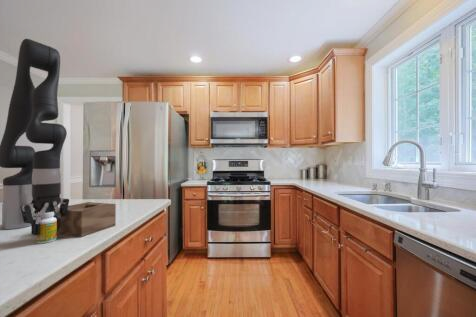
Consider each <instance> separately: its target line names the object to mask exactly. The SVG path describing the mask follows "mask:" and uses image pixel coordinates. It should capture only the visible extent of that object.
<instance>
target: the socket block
mask: <svg viewBox="0 0 476 317" xmlns="http://www.w3.org/2000/svg"><path fill="white" fill-rule="evenodd" d="M58 207H59V208H60V206H58ZM116 207H117V206H116V203H105V202H93V201H91V202H90V201H87V202H81V203H77V204H69V205H68V210H67V215H66V216H63V217H61V226H60V228H59V230H57V235H63V236H70V237H79V238H84V237H86V236H89V235H92V234H95V233H98V232H101V231H104V230H106V229H110V228H112V227H115V226H116V219H117V218H116V212H117V211H116V210H117V209H116Z"/></svg>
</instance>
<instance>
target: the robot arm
mask: <svg viewBox="0 0 476 317" xmlns="http://www.w3.org/2000/svg"><path fill="white" fill-rule="evenodd" d="M16 67H17V68H16V75H15V80H14V86H13V89H12V94H11V97H10V101H9V104H8V105H9V106H8V111H7V118H6V123H5V129H4V132H3V135H2V138H1V141H0V168H3V169H19V168H20V169H21V170H20V171H19V172H17V173H16V174H12V175H10V176H6V177H4V178H3V179H2V204H1V228H2V229H3V230H15V229H23V228H27V227H30V226H31V234H32V235H33V236H35V237H36V236H37V235H40V224H39V222H40V220H41V218H42V217H43V216H44V213H47V212H52V211H54V216H53V217H55V218H56V219H57V230H59V228H60V226H61V217H63V216H66V215H67V210H68V206H70V204H69V203H70V199H69V198H61V194H62V174H61V154H62V150H63V145H64V144H65V141H66V138H67V136H68V135H67V134H68V133H67V132H68V131H67V128H66V127H65V126H64V125H63V124H60V123H51V122H49V121H54V120H56V119H58V118H59V104H58V89H59V80H60V72H61V71H60V70H61V55H60V52H59V51H58V50H57V49H56V48H55V47H52V46H49V45H46V44H43V43H41V42H38V41H35V40H33V39H30V38H24V39H23V40H22V41H21V43H20V45H19V51H18V58H17V65H16ZM31 68H33V69H38V70H40V71H44V72H47V76H46V78H44V80H43V81H42V82H41V83H39V84H38V85H37V86H36V87H35V85H34V83H33V80H32V77H31ZM24 134H25V137H26V139H27V141H29V143H32V144H47V145H48V144H50V145H52V146H51V148H48V149H45V150H38V151H35V148H34V147H33V146H30V145H16V144H17V142H18V141H19V139H20V138H21V137H22V136H23V135H24ZM59 207H60V208H59Z"/></svg>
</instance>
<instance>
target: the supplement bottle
mask: <svg viewBox="0 0 476 317" xmlns="http://www.w3.org/2000/svg"><path fill="white" fill-rule="evenodd" d="M53 216H54V211H52V212H47V213H44V216H43V217H42V218H41V220H40V222H39V224H40V235H37V236H36V235H35V243H36V244H49V243H51V242H52V243H53V242H54V241H56V240H57V237H58V236H57V235H58V234H57V219H56V218H55V217H53Z"/></svg>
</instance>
